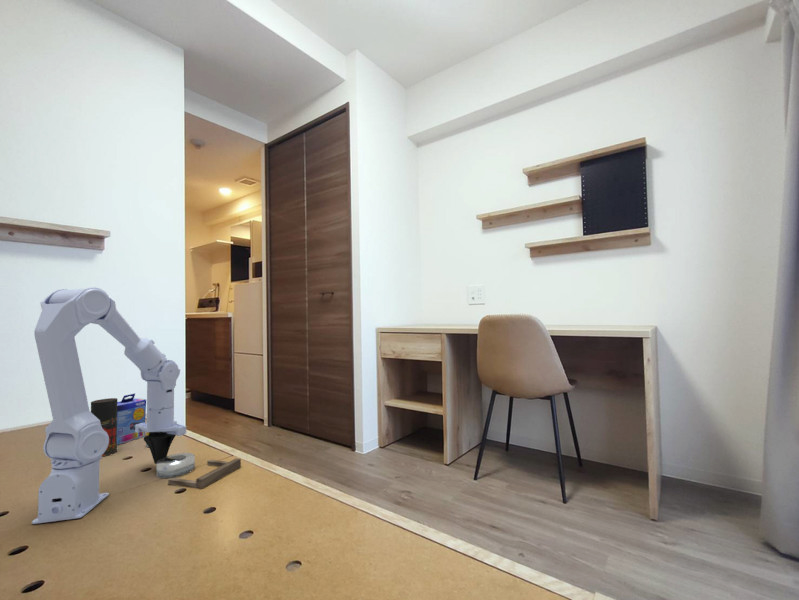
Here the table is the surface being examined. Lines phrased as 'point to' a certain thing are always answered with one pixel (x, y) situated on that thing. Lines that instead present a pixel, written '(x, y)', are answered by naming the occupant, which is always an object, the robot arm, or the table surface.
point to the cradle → (209, 474)
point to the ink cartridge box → (130, 418)
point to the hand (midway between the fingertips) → (160, 462)
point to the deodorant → (107, 421)
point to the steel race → (175, 465)
